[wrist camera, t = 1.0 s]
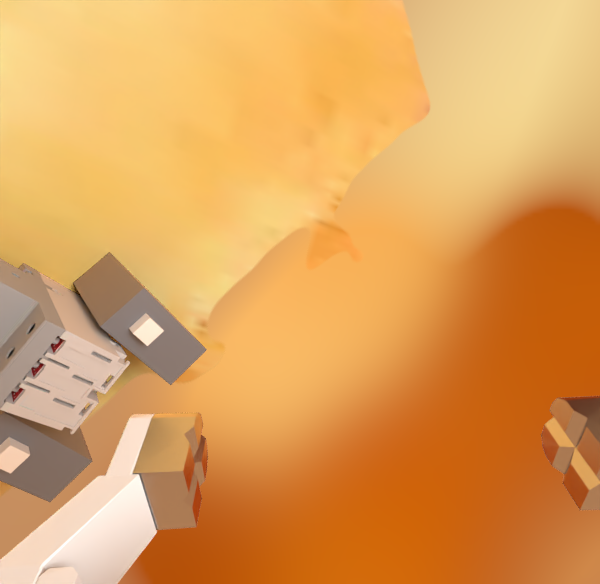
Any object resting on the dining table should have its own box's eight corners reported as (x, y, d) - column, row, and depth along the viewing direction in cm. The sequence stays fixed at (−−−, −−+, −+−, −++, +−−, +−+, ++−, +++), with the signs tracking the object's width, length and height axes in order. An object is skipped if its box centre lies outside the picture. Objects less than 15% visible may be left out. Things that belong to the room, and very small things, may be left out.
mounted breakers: (-49, 385, 44) (-50, 468, 34) (109, 252, 48) (148, 292, 39) (33, 429, 50) (52, 511, 40) (166, 308, 55) (211, 354, 45)
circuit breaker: (-42, 225, 40) (-41, 276, 29) (92, 303, 49) (132, 364, 38) (-100, 290, 39) (-123, 368, 28) (48, 357, 48) (75, 435, 37)
